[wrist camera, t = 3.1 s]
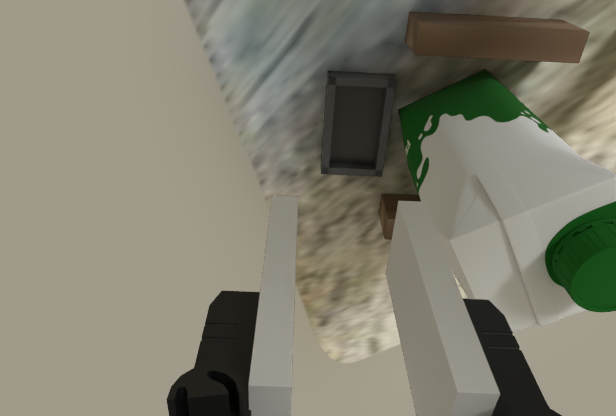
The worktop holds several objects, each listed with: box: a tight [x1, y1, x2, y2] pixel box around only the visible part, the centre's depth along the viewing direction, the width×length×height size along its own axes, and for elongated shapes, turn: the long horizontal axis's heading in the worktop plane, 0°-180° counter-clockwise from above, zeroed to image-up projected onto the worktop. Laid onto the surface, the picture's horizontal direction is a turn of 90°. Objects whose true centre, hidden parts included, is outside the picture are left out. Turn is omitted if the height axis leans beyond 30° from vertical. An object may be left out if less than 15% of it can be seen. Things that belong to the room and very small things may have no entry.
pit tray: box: [321, 71, 396, 177], centre depth 38 cm, size 8×5×2 cm, turn 177°
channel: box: [379, 12, 590, 240], centre depth 37 cm, size 17×11×4 cm, turn 177°
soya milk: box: [399, 69, 616, 332], centre depth 30 cm, size 9×9×20 cm
